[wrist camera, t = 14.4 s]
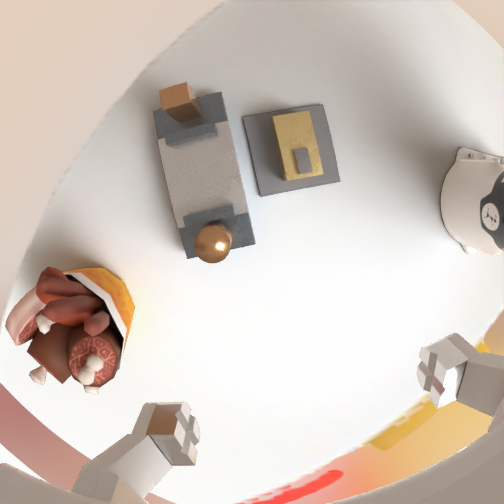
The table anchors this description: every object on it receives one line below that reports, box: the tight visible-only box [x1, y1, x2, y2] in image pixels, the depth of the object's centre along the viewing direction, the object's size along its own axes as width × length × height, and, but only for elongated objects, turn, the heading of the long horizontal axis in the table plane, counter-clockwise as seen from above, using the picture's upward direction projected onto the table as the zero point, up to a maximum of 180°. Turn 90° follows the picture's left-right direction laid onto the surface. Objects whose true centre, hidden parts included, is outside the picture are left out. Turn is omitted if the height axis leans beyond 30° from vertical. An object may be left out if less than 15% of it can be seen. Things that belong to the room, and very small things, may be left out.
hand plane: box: [153, 82, 255, 263], centre depth 32 cm, size 20×9×10 cm, turn 12°
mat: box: [243, 105, 340, 197], centre depth 35 cm, size 11×11×1 cm
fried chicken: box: [5, 267, 135, 395], centre depth 31 cm, size 20×16×20 cm
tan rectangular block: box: [270, 111, 323, 181], centre depth 33 cm, size 8×4×5 cm, turn 12°
